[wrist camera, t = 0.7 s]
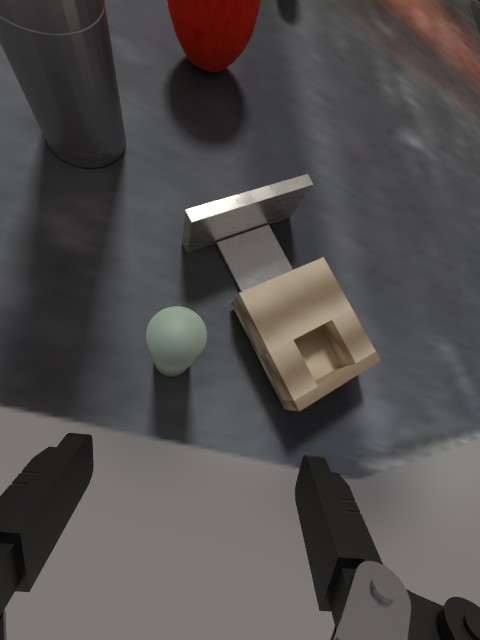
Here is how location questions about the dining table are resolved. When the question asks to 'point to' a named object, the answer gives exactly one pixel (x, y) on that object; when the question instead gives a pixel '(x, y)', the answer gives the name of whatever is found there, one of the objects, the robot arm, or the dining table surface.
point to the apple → (213, 29)
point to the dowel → (175, 339)
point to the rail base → (247, 229)
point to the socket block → (304, 334)
